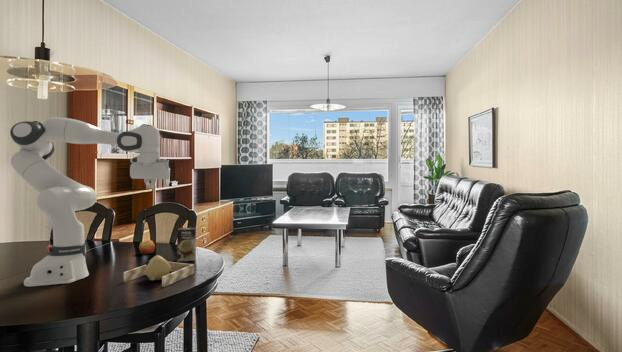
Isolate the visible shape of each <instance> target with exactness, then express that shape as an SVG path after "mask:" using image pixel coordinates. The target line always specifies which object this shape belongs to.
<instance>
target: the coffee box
mask: <svg viewBox="0 0 622 352" xmlns="http://www.w3.org/2000/svg"><path fill="white" fill-rule="evenodd" d="M176 233H177V234H176V236H177V237H176V239H177V240H176V241H177V242H176V263H179V262H192V261H196V260H197V227H177V232H176Z"/></svg>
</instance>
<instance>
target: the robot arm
mask: <svg viewBox="0 0 622 352" xmlns="http://www.w3.org/2000/svg"><path fill="white" fill-rule="evenodd" d="M9 133H10V137H11V139H12V141H13V142H14V143H15V144H17V147H19V150H18V151H16V152H15V153H13V155H12V156H11V159H10V165H11V166H12V168H13V169H14V170H15V172H16V173H17V174H18V175H19V176H20V177H21V178H22V179H23V180H24V181H25V182H26V183H28V184H29V185H30V186H31V187H32V188H33V189H34V190H36V191H37V192H39V193H38V194H37V197H36V205H37V207H38V209H39V210H40V211H41V212H42V213H44V214H45V215H46V216H47V217H48V219H49V221H50V224H51V227H52V237H53V239H52V240H53V241H52V242H53V243H52V244H51V245H47V246H46V250H47V253H46V254H47V255H46V256H44V258H42V259H41V260H40V261H38V262H36V263H35V264H34V265H33V267H32V268H31V271H30V274H29V275H30V276H28V277H26V278H25V279H24V280H23V286H25V287H38V286H39V287H40V286H50V285H59V284H71V283H73V282H76V281H79V280H81V279H85V278H86V277H88V276H89V275H90V273H89V270H88V266H87V262H86V254H87V245H86V242H85V225H84V223H83V222H81V221H80V220H78V218H77V215H76V212H79V211H82V210H86V209H88V208H91V207H93V205H95V203H96V202H97V199H98V197H97V192H96V190H94V188H92V187H91V186H88V185H84V184H82V183H80V182H78V181H76V180H74V179H72V178H70V177H68V176H67V175H65V174H63V173H62V172H60V171H59V170H57V168H55V167H54V166H53V165H51V164H50V163H49V162H48V161H47V160H48V159H49V158H51V156H52V155H53V154H54V153H55V144H54V143H53V142H63V143H67V144H75V145H94V144H95V145H96V144H98V145H99V144H100V145H101V144H104V145H110V146H116V147H118V148H119V149H121V150H122V151H124V152H126V153H134V154H139V155H136V156H134V157H131V158H130V163H131V164H130V166H129V176H130V178H131V179H134V180H135V179H139V180H141V179H143V182H144V184H145V186H146V187H145V188H146V190H147V189H149V190H153V189H154V188H155V184H156V182H157V180H169V179H170V177H171V172H170V171H171V170H170V167H169V166H170V164H169V160H167V159H165V158H164V159H162V158H161V151H160V145H161V136H160V130H159V128H158V127H157V126H155V125H152V124H151V125H150V124H146V123H143V124H141V125H139V126H137V127H135V128H133V129H130V130H126V131H122V132H120V133H119V132H113V131H109V130H105V129H103V128H100V127H97V126H95V125H93V124H91V123H88V122H85V121H82V120H79V119H75V118H69V117H62V116H61V117H58V116H57V117H53V116H52V117H48V118H46V119H45V120H44V121H43V122H40V121H38V120H34V121H29V120H28V121H20V122H16V123H15V124H13V126H12V127H11V128H10V132H9ZM150 182H151V183H150Z"/></svg>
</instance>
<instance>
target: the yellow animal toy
mask: <svg viewBox="0 0 622 352" xmlns="http://www.w3.org/2000/svg"><path fill="white" fill-rule="evenodd" d="M168 262H169V261H168V260H166V259H165V258H164V257H163V256H161V255H159V254H156V255H155V256H153V257H152V258H150V259H149V260H147V261H146V262H145V265H146V270H145V273H146V277H148V278H149V281H150V282H151V281H152V282H153V281H160V280H162V277H163V276H165V275H168V274H170V272H172V271H171V266H170V264H169V263H168Z"/></svg>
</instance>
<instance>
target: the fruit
mask: <svg viewBox="0 0 622 352" xmlns="http://www.w3.org/2000/svg"><path fill="white" fill-rule="evenodd" d="M138 249H139V251H140V253H141V254H142V255H150V254H153V253H154V252H155V249H156V244H155V242H154V241H153V240H151V239H149V240H144V241H142V242H141V243H140V244H139V246H138Z"/></svg>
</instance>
